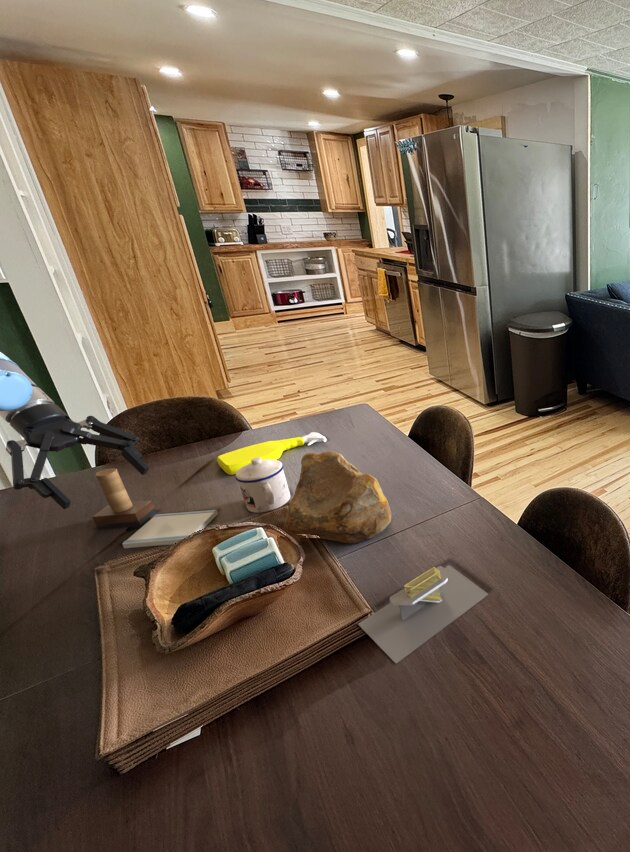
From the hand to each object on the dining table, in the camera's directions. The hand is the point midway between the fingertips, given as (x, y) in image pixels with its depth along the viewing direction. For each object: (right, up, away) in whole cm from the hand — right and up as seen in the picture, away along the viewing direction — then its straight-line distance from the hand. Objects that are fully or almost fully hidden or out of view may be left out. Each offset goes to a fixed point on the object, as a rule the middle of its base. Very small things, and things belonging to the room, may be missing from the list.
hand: (109, 487), depth 100 cm
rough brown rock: (+47, -9, +2) cm, 48 cm away
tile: (+13, -9, +1) cm, 16 cm away
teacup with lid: (+28, -6, +10) cm, 30 cm away
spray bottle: (+14, +3, +32) cm, 35 cm away
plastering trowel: (+74, -18, -18) cm, 78 cm away
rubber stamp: (+2, -8, +3) cm, 9 cm away
